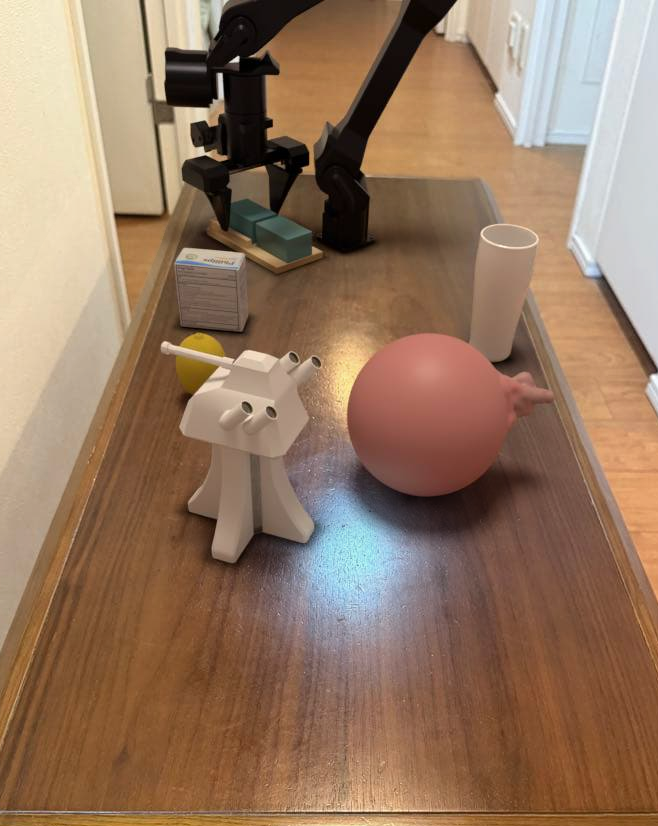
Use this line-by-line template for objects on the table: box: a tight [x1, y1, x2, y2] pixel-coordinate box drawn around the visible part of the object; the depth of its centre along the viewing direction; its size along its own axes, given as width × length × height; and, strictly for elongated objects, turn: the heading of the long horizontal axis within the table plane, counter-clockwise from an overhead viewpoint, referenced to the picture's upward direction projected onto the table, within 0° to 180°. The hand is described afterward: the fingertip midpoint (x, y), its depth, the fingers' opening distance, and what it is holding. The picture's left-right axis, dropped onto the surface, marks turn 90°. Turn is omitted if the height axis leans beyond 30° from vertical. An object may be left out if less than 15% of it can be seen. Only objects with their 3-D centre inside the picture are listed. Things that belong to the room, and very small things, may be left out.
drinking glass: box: [468, 223, 540, 363], centre depth 99 cm, size 7×7×15 cm
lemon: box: [175, 332, 227, 396], centre depth 91 cm, size 6×6×8 cm
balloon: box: [346, 332, 556, 497], centre depth 80 cm, size 15×20×15 cm
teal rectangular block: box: [229, 198, 278, 244], centre depth 123 cm, size 7×5×3 cm, turn 43°
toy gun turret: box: [160, 340, 323, 564], centre depth 73 cm, size 12×13×18 cm
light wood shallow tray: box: [206, 215, 324, 275], centre depth 121 cm, size 16×9×4 cm, turn 44°
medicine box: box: [173, 247, 250, 333], centre depth 103 cm, size 8×4×9 cm, turn 84°
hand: (249, 223), depth 123 cm, fingers open, 9 cm apart
